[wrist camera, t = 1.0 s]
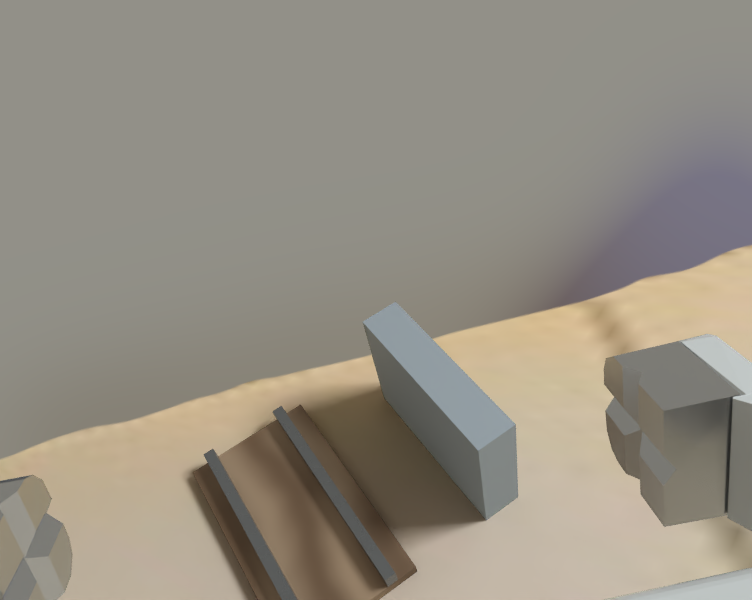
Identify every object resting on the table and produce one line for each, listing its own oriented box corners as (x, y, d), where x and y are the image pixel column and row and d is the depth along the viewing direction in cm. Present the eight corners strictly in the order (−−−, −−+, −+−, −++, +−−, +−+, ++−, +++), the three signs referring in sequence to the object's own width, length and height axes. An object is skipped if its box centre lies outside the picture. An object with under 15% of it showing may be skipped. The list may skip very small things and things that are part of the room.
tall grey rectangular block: (486, 520, 59) (478, 450, 50) (384, 398, 69) (362, 321, 60) (518, 497, 60) (515, 424, 51) (412, 379, 70) (395, 301, 61)
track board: (292, 663, 54) (283, 654, 52) (196, 477, 67) (186, 464, 65) (417, 571, 57) (413, 559, 55) (303, 410, 70) (296, 396, 68)
